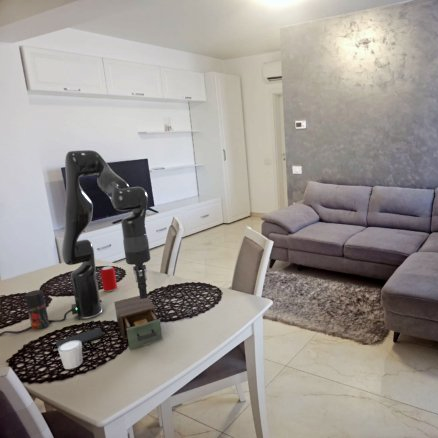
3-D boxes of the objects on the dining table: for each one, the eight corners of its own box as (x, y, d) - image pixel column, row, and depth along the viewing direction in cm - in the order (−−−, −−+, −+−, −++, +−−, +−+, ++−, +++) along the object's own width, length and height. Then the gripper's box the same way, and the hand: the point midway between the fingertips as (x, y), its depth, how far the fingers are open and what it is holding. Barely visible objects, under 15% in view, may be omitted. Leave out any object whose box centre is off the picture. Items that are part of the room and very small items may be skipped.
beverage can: (119, 288, 184) (116, 266, 181) (108, 293, 179) (104, 270, 176) (112, 286, 187) (109, 264, 184) (101, 291, 182) (97, 268, 179)
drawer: (165, 344, 130) (163, 324, 129) (131, 355, 124) (128, 335, 123) (153, 323, 146) (151, 305, 144) (123, 332, 140) (120, 314, 138)
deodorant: (52, 324, 150) (46, 290, 146) (38, 331, 144) (31, 296, 141) (42, 322, 152) (35, 289, 148) (28, 329, 146) (21, 295, 143)
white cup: (68, 358, 125) (64, 340, 124) (88, 357, 126) (85, 339, 124) (57, 371, 118) (53, 352, 117) (78, 369, 119) (75, 350, 117)
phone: (55, 341, 135) (99, 327, 144) (55, 343, 135) (99, 329, 144) (58, 350, 129) (103, 334, 138) (59, 352, 129) (104, 336, 139)
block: (137, 337, 133) (136, 327, 132) (135, 332, 137) (133, 322, 136) (149, 334, 136) (148, 323, 135) (147, 329, 139) (145, 318, 138)
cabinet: (157, 329, 143) (155, 307, 141) (123, 339, 136) (120, 316, 134) (149, 314, 155) (146, 293, 153) (117, 323, 149) (114, 301, 147)
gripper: (124, 244, 124) (130, 288, 127) (124, 255, 111) (131, 304, 114) (147, 241, 127) (153, 284, 130) (150, 251, 114) (156, 298, 118)
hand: (143, 293), depth 122 cm, fingers open, 8 cm apart
